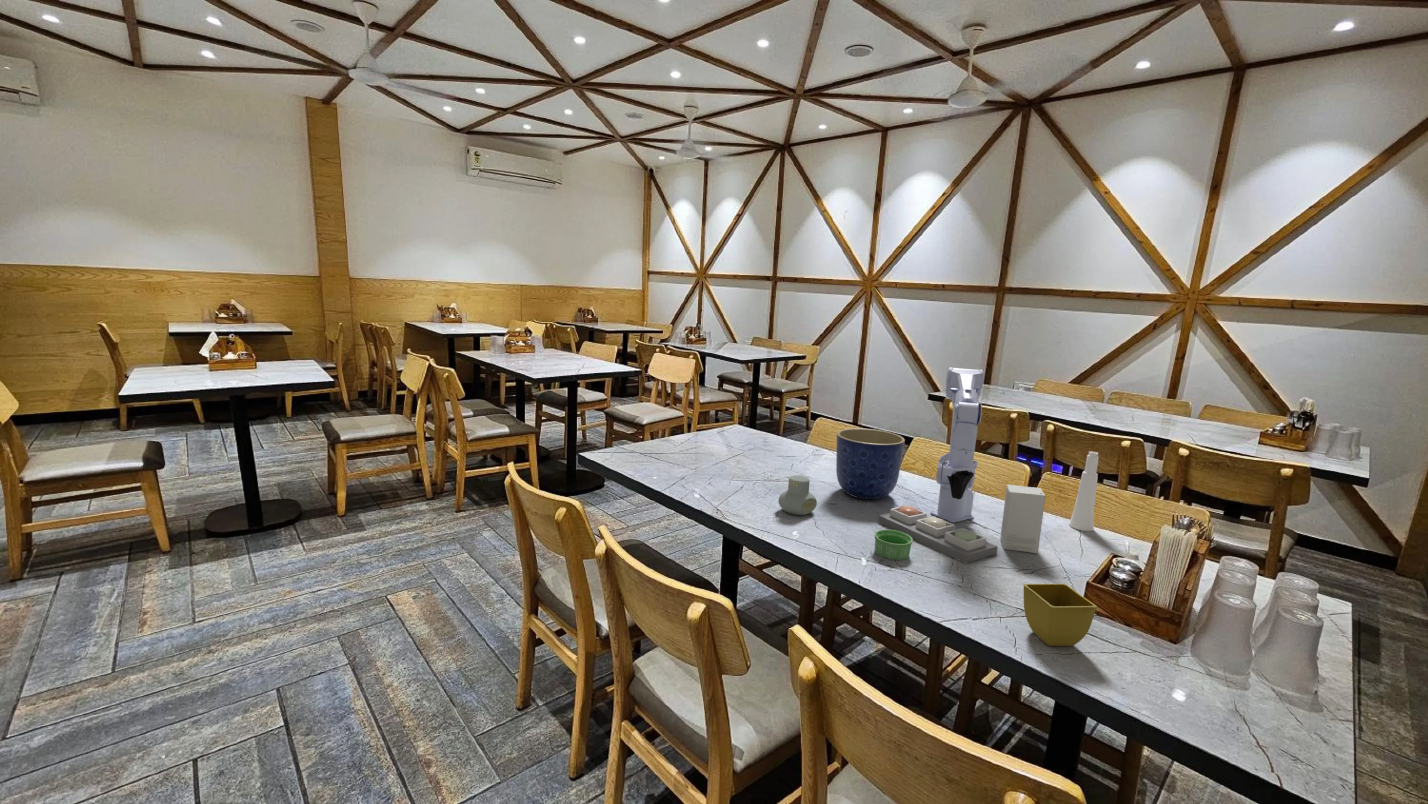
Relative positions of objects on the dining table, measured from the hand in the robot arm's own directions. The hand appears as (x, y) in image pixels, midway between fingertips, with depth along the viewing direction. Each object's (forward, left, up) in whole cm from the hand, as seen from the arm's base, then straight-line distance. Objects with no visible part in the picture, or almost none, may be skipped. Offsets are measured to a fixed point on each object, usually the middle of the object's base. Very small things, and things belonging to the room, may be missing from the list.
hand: (956, 497), depth 154 cm
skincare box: (-9, +13, -11) cm, 19 cm away
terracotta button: (+6, -10, -8) cm, 14 cm away
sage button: (+6, +8, -8) cm, 13 cm away
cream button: (+6, -1, -8) cm, 10 cm away
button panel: (+6, -1, -10) cm, 12 cm away
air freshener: (+28, -31, -11) cm, 43 cm away
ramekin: (+24, +1, -11) cm, 26 cm away
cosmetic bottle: (-40, +13, -11) cm, 43 cm away
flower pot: (+25, +41, -11) cm, 49 cm away
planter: (-2, -34, -11) cm, 36 cm away
